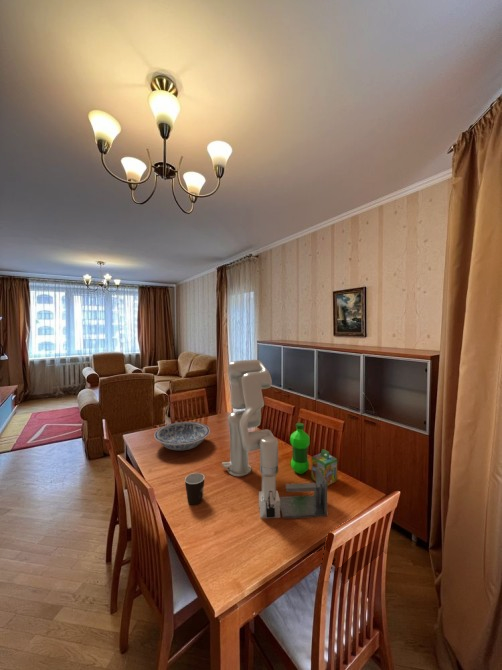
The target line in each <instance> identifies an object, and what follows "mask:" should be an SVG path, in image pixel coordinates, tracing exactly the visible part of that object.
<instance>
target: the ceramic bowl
mask: <svg viewBox="0 0 502 670" xmlns="http://www.w3.org/2000/svg"><path fill="white" fill-rule="evenodd" d="M210 431H211V430H210V428H209V426H207V425H206V424H204V423H201V422H197V421H179V422H174V423H173V422H172V423H169V424H166V425H163V426H162V427H159V428H158V429H157V430H156V431H155V432H154V434H153V436H154V440H156V441H157V442H159V443H160V444H161V445H162V446H163V447H164V448H166V449H168V450H171V451H179V452H181V451H182V452H183V451H188V450H191V449H194V448H196V447H197V446H199V445H200V444H201V443H202V442H203V441H204V440H205V439H206V438H207V437H208V436H209V434H210Z"/></svg>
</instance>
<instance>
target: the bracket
mask: <svg viewBox="0 0 502 670" xmlns="http://www.w3.org/2000/svg"><path fill="white" fill-rule="evenodd" d="M285 490H286V493H294V492H295V493H296V492H297V493H299V492H301V493H302V492H313V495H296V496H295V495H294V496H279V498H280V514H281V516H282V519H283V520H286V519H287V520H288V519H307V518H309V519H310V518H326V517H328V486H327V481H326V480H325V478H324V476H323V474H322V473H321V471H320V469H319V467H316V481H315V482H302V483H300V482H299V483H285Z"/></svg>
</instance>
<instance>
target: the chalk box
mask: <svg viewBox="0 0 502 670" xmlns="http://www.w3.org/2000/svg"><path fill="white" fill-rule="evenodd" d="M316 467H319V469H320V471H321V473H322V474H323V476H324V478H325V480H326V481H327V487H329V486H330V485H332V484H334V483H336V482H337V481H338V458H336V457H335V456H333V455H331V454H330V451H328V450H326V449H323V448H322V449H321V452H320V453H318V454H315V455H312V456H311V471H310V472H311V475H310V476H311V477H310V478H311V480H313V481H314V482H316Z"/></svg>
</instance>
